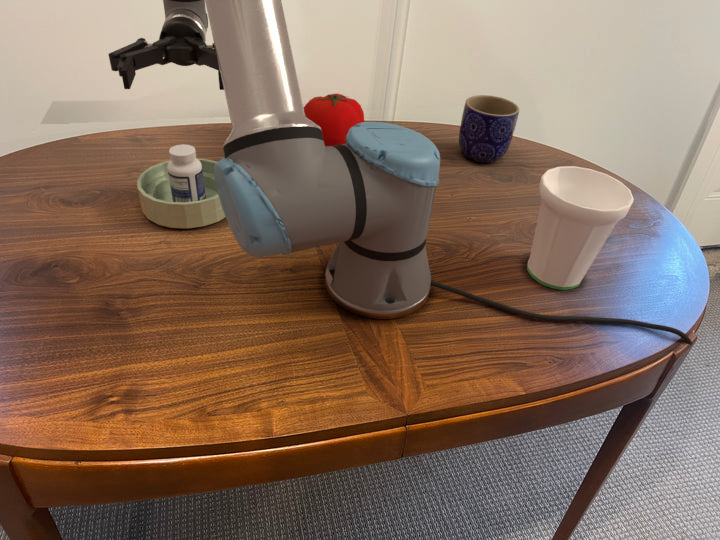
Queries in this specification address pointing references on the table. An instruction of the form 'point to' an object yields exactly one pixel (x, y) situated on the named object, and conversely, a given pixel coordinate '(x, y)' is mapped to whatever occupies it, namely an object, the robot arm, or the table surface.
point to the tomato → (334, 116)
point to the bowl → (178, 214)
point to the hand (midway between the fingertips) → (174, 80)
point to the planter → (487, 127)
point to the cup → (574, 223)
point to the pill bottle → (185, 174)
